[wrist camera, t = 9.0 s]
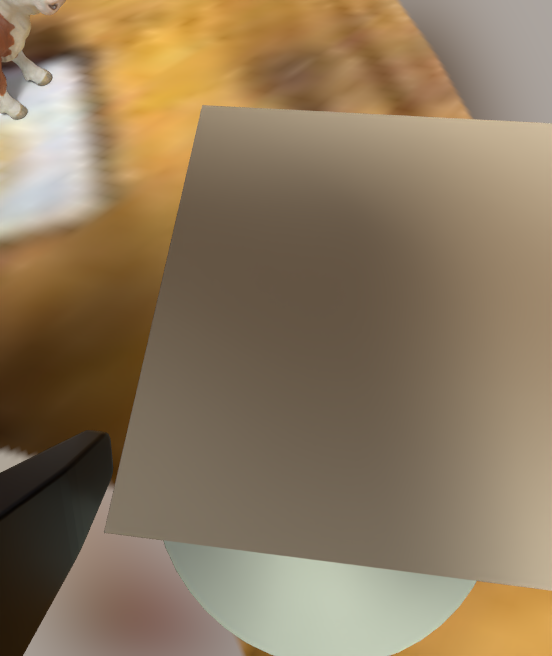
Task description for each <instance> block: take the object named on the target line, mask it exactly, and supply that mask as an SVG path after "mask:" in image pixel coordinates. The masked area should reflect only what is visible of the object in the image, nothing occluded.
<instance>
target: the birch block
mask: <svg viewBox="0 0 552 656" xmlns="http://www.w3.org/2000/svg"><path fill="white" fill-rule="evenodd" d="M104 533H111V534H118V535H126V536H133V537H141V538H149V539H157V540H164V541H172V542H180V543H188V544H195V545H203V546H211V547H219V548H226V549H234V550H242V551H250V552H257V553H265V554H273V555H281V556H288V557H296V558H304V559H312V560H319V561H327V562H335V563H343V564H350V565H358V566H366V567H373V568H381V569H389V570H397V571H404V572H412V573H420V574H428V575H435V576H443V577H451V578H459V579H466V580H474V581H482V582H490V583H497V584H505V585H513V586H521V587H528V588H536V589H544V590H552V123H550V124H549V123H532V122H513V121H492V120H475V119H456V118H436V117H417V116H398V115H379V114H359V113H340V112H321V111H302V110H283V109H263V108H244V107H225V106H206V105H202V109H201V113H200V118H199V122H198V126H197V131H196V135H195V139H194V144H193V148H192V152H191V157H190V161H189V165H188V170H187V174H186V178H185V183H184V187H183V191H182V196H181V200H180V204H179V209H178V213H177V217H176V222H175V226H174V230H173V235H172V239H171V243H170V248H169V252H168V256H167V261H166V265H165V270H164V274H163V278H162V283H161V287H160V291H159V296H158V300H157V304H156V309H155V313H154V317H153V322H152V326H151V330H150V335H149V339H148V343H147V348H146V352H145V356H144V361H143V365H142V369H141V374H140V378H139V382H138V387H137V391H136V395H135V400H134V404H133V409H132V413H131V417H130V422H129V426H128V430H127V435H126V439H125V443H124V448H123V452H122V456H121V461H120V465H119V469H118V474H117V478H116V482H115V487H114V491H113V496H112V500H111V504H110V508H109V513H108V517H107V521H106V526H105V530H104Z"/></svg>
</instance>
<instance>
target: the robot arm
mask: <svg viewBox="0 0 552 656" xmlns="http://www.w3.org/2000/svg"><path fill="white" fill-rule="evenodd" d="M112 473H113V460H112V450H111V440H110V436H109V434H108V433H106V432H102V431H94V430H86V431H84V432H82V433H80V434H78V435H76V436H74V437H72V438H70V439H68V440H66V441H64V442H61V443H59V444H57V445H55V446H53V447H51V448H49V449H47V450H45V451H43V452H41V453H39V454H37V455H35V456H33V457H31V458H29V459H27V460H25V461H23V462H21V463H19V464H17V465H15V466H13V467H11V468H9V469H7V470H5V471H3V472H1V473H0V656H23V654H24V653H25V651H26V649H27V647H28V645H29V644H30V642H31V640H32V638H33V636H34V635H35V633H36V631H37V629H38V627H39V625H40V624H41V622H42V620H43V618H44V616H45V615H46V612H47V611H48V609H49V607H50V606H51V604H52V602H53V600H54V598H55V596H56V595H57V593H58V591H59V589H60V587H61V586H62V584H63V582H64V580H65V578H66V576H67V575H68V573H69V571H70V569H71V567H72V566H73V564H74V562H75V560H76V558H77V556H78V554H79V552H80V550H81V548H82V546H83V544H84V541H85V539H86V537H87V534H88V532H89V530H90V527H91V525H92V523H93V520H94V518H95V515H96V513H97V511H98V508H99V506H100V504H101V501H102V499H103V497H104V494H105V492H106V490H107V487H108V485H109V482H110V480H111V477H112Z"/></svg>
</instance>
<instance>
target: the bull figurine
mask: <svg viewBox="0 0 552 656" xmlns="http://www.w3.org/2000/svg"><path fill="white" fill-rule="evenodd" d="M65 1H66V0H0V113H7V114H8V115H9V116H10V117H11V118H13V119H21V118H23V117H24V116H25V115H26V114H27V108H26V107H24V106H23V105H22V104H21V103H19V102H18V101H17V100H15V99H13V98H12V97H11V96H10V95H9V94H8V92H7V89H6V87H7V81H6V77H5V75H4V74H3V72H2V62H9V61H11V60H12V61H13V62H15V63H16V64H17V65H18V66H19V67H20V69H21V70H22V73H23V76H24V78H25V79H26V80H27V81H29V80H32V81H34V82H35V83H36V84H37V85H40V86H42V85H46V84H48V83H49V82H50V81H51V79H52V75H51V73H50V72H49V71H47V70H44V69H42V68H40V67H38V66H36V65H35V64H34V63H33V62H32V61H30V60H29V59H28V58H27V57H26V56H25V55H24V53H23V51H22V50H23V48H24V46H25V39H26V38H27V37H28V36H29V33H30V29H31V22H30V14H33V15H35V14H38V13H40V12H41V13H43V14H45V15H52V14H54V13H56V12H57V10H58V9H59V8H60V7H61V6H62V5H63V4H64V3H65Z"/></svg>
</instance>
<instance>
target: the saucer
mask: <svg viewBox="0 0 552 656" xmlns="http://www.w3.org/2000/svg"><path fill="white" fill-rule="evenodd" d="M163 541H164V540H163ZM164 544H165V547H166V549H167V552H168V554H169V556H170V558H171V560H172V562H173V565H174V567H175V569H176V571H177V572H178V574H179V576H180V577H181V579H182V580H183V582H184V583H185V585H186V587H187V588H188V590H189V591H190V592H191V594H192V595H193V596H194V597H195V598H196V600H197V601H198V602H199V603H200V604H201V606H202V607H203V608H204V609H205V610H206V611H207V612H208V613H209V614H210V615H211V616H212V617H213V618H214V619H215V620H217V621H218V622H219V623H220V624H221V625H222V626H223V627H224V628H225V629H227V630H228V631H230V632H231V633H233V634H234V635H236V636H237V637H239V638H240V639H242V640H243V641H245V642H246V643H248V644H250V645H252V646H254V647H256V648H258V649H261V650H263V651H265V652H267V653H269V654H271V655H274V656H389V655H392V654H395V653H398V652H400V651H402V650H404V649H406V648H408V647H409V646H411V645H413V644H415V643H417V642H419V641H421V640H422V639H423V638H425V637H426V636H427V635H429V634H430V633H431V632H433V631H434V630H435V629H437V628H438V627H439V626H441V625H442V624H443V623H444V622H445V621H446V620H447V619H448V618H449V617H450V616H451V615H452V614H453V613H454V612H455V610H456V609H457V608H458V607H459V606H460V605H461V603H462V602H463V601H464V599H465V598H466V596H467V595H468V594H469V592H470V591H471V589H472V588H473V587H474V585H475V583H476V581H474V580H466V579H459V578H451V577H443V576H435V575H428V574H420V573H412V572H404V571H397V570H389V569H381V568H373V567H366V566H358V565H350V564H343V563H335V562H327V561H319V560H312V559H304V558H296V557H288V556H281V555H273V554H265V553H257V552H250V551H242V550H234V549H226V548H219V547H211V546H203V545H195V544H188V543H180V542H172V541H164Z"/></svg>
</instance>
